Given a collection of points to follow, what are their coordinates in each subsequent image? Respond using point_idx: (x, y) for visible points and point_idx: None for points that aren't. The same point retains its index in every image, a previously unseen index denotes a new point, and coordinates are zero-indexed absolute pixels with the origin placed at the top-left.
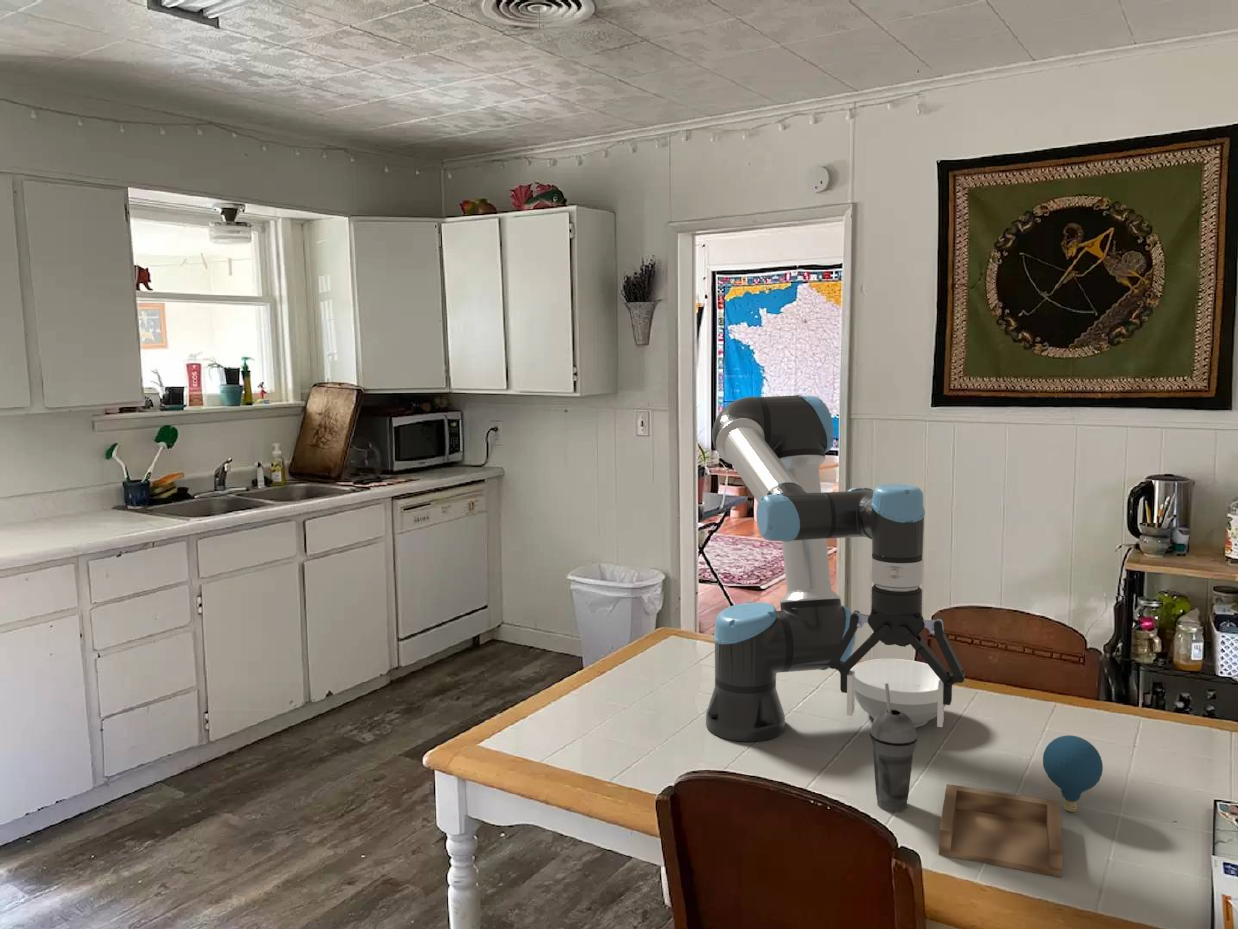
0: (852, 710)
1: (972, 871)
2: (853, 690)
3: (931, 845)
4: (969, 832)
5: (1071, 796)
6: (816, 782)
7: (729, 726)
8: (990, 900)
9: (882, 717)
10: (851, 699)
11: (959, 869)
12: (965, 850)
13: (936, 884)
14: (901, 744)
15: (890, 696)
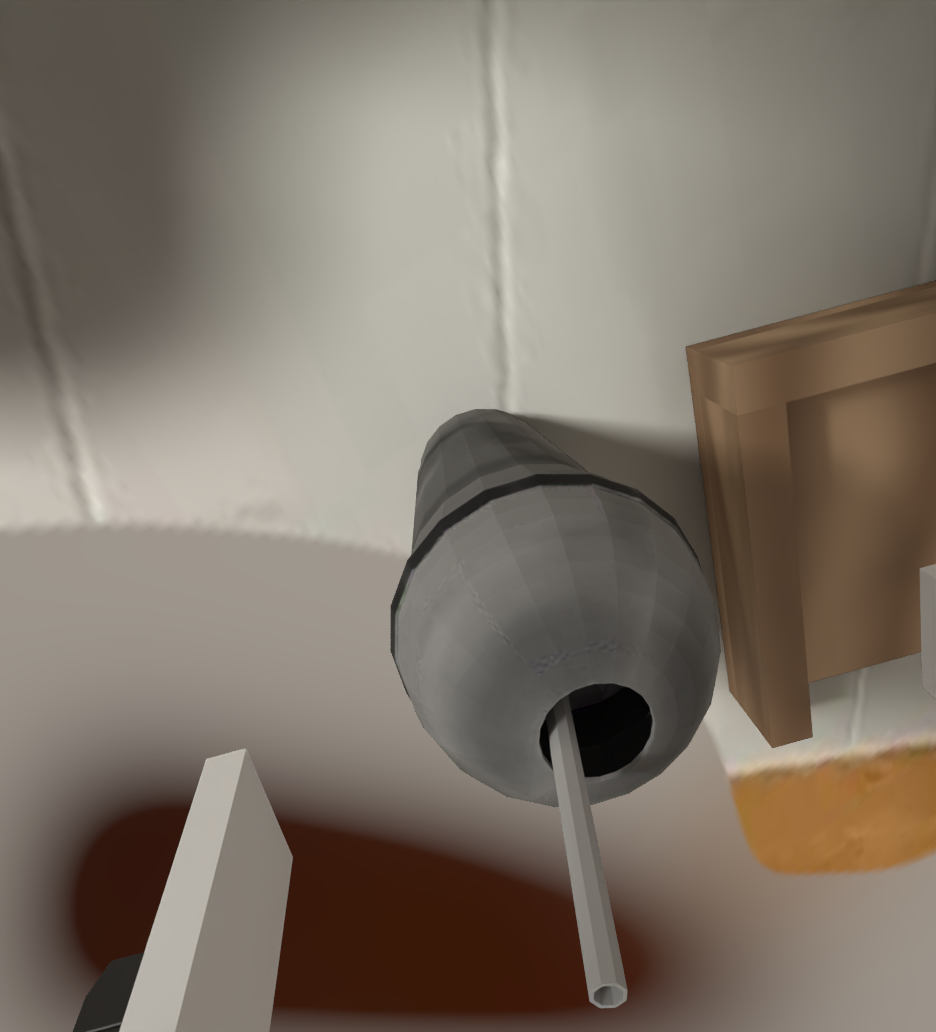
0: (276, 850)
1: (837, 714)
2: (233, 965)
3: None
4: (817, 542)
5: None
6: (101, 467)
7: None
8: (894, 808)
9: (522, 790)
10: (272, 980)
11: None
12: (818, 661)
13: (753, 826)
14: (640, 723)
15: None
